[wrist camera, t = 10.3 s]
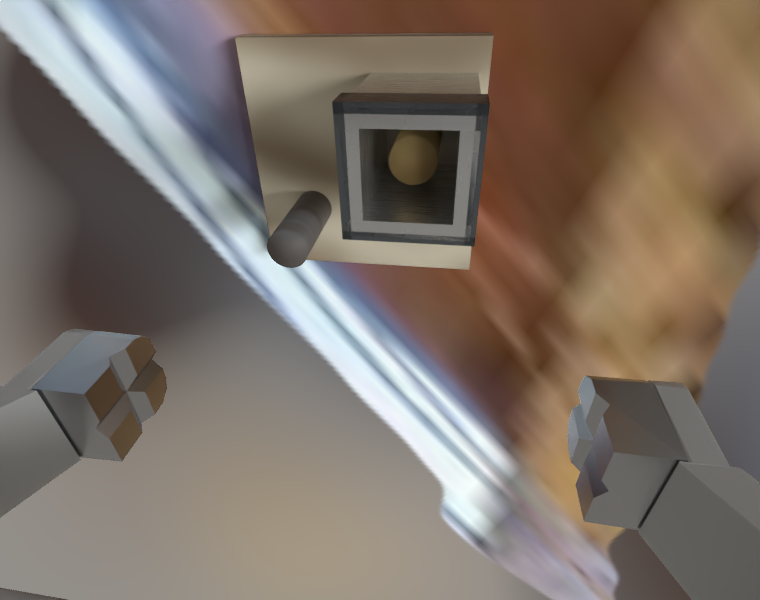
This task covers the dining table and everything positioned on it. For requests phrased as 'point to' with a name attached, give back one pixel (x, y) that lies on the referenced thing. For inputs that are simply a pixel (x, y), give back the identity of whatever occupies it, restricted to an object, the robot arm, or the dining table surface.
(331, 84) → the pinboard
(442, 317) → the dining table surface
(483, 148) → the sleeve
